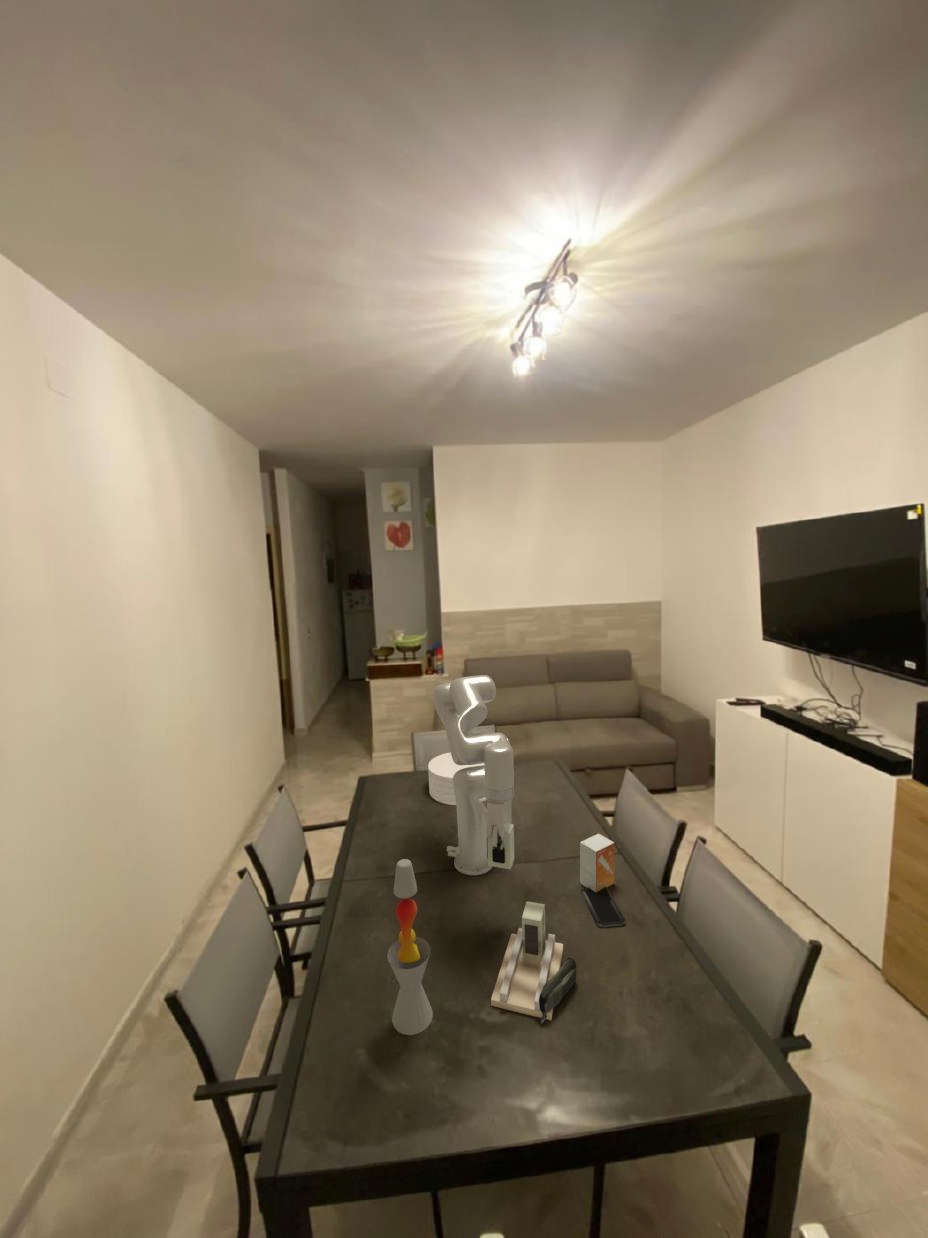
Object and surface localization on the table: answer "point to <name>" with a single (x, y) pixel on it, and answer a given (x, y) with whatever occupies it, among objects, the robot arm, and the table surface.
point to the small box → (597, 862)
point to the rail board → (527, 965)
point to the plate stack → (444, 778)
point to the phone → (603, 908)
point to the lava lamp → (409, 959)
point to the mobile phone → (557, 987)
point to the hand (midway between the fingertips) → (501, 855)
